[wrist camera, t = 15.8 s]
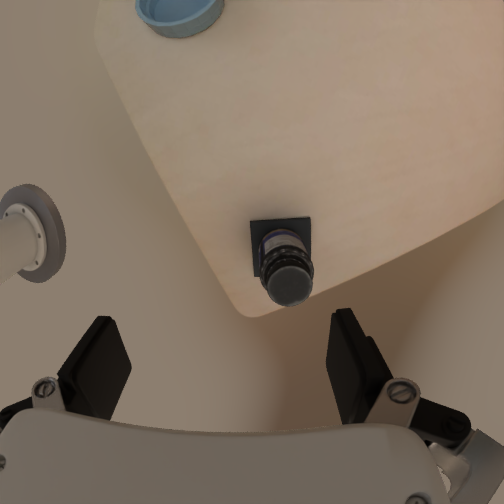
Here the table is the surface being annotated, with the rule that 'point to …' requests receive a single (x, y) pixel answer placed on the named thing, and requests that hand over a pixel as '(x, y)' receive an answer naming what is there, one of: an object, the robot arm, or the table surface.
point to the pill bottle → (285, 267)
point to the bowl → (179, 15)
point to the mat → (265, 226)
